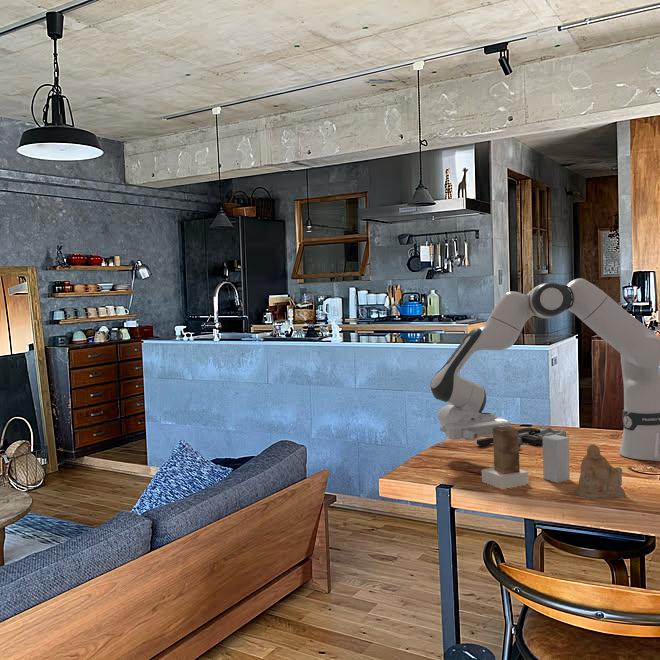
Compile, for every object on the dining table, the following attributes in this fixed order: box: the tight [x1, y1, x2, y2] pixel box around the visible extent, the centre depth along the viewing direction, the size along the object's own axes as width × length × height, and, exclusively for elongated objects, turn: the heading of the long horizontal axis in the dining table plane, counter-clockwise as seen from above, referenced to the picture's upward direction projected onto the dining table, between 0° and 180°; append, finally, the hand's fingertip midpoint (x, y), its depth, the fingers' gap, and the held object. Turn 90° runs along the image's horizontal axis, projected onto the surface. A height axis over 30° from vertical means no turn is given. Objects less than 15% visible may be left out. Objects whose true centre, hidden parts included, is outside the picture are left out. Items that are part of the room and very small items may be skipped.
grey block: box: [542, 435, 571, 484], centre depth 189 cm, size 5×5×12 cm
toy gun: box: [476, 426, 567, 449], centre depth 233 cm, size 4×33×15 cm
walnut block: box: [492, 426, 521, 474], centre depth 186 cm, size 5×5×12 cm
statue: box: [574, 444, 626, 500], centre depth 176 cm, size 12×14×10 cm
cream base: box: [481, 467, 530, 490], centre depth 187 cm, size 9×9×4 cm
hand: (489, 434), depth 194 cm, fingers open, 8 cm apart
